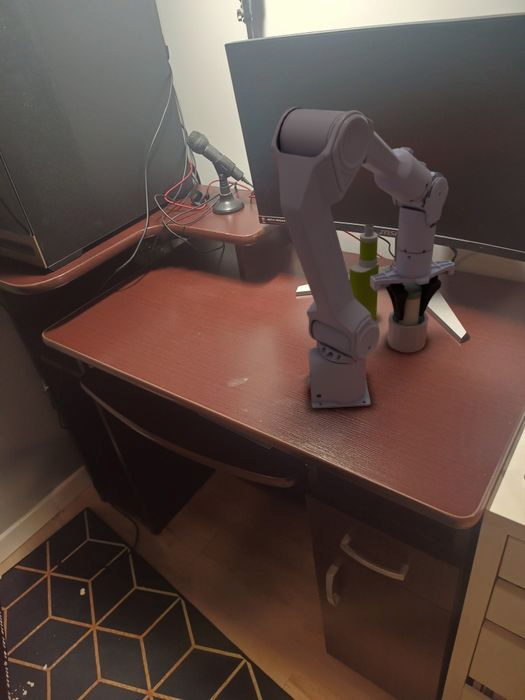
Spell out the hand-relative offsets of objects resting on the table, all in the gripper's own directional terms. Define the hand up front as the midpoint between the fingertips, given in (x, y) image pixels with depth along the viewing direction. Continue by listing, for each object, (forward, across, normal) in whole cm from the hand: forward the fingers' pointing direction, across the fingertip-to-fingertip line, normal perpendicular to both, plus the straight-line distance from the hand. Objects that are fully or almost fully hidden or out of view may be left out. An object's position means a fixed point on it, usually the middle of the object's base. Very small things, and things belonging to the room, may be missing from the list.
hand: (408, 315), depth 84 cm
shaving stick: (+2, 0, 0) cm, 2 cm away
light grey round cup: (+6, 0, 0) cm, 6 cm away
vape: (+6, -5, +10) cm, 12 cm away
